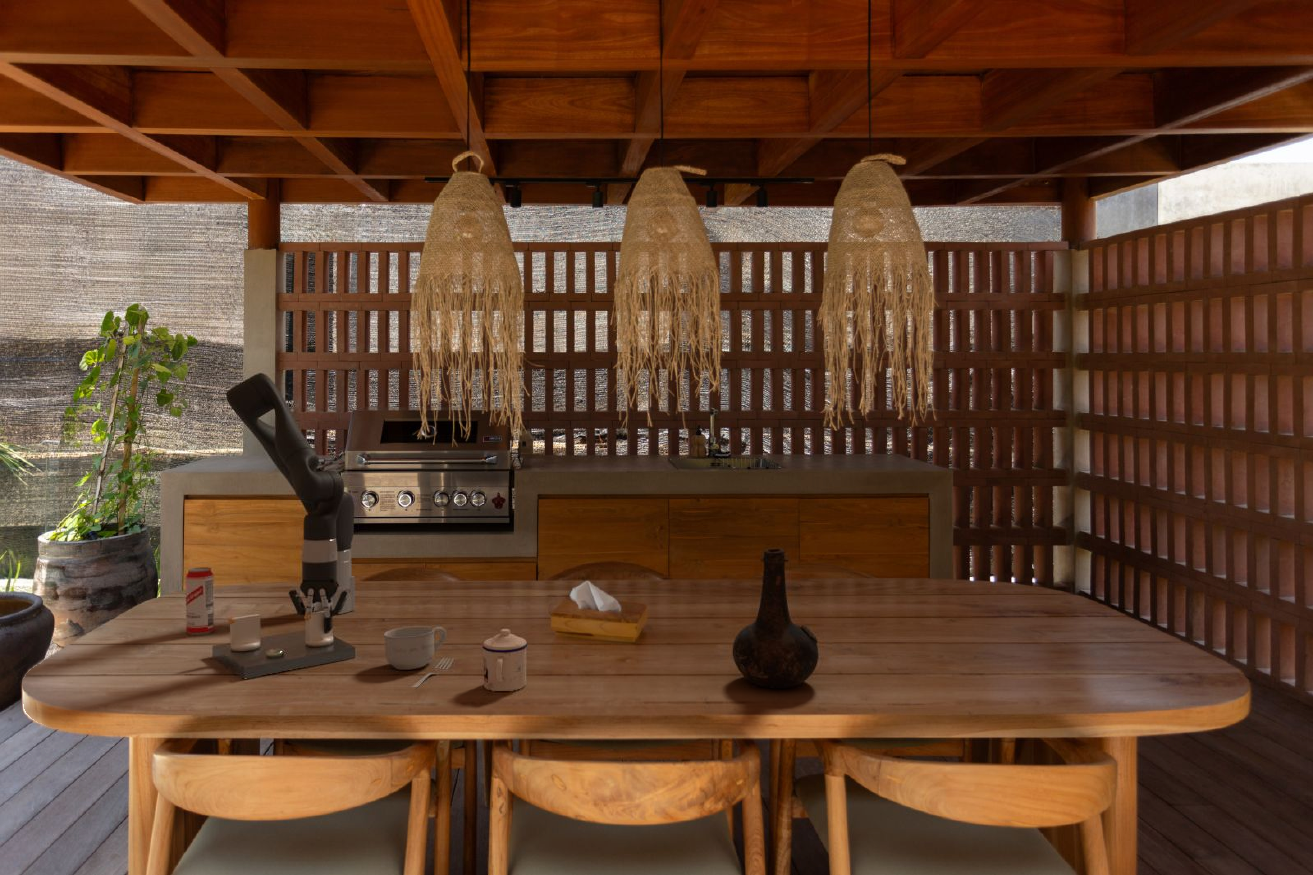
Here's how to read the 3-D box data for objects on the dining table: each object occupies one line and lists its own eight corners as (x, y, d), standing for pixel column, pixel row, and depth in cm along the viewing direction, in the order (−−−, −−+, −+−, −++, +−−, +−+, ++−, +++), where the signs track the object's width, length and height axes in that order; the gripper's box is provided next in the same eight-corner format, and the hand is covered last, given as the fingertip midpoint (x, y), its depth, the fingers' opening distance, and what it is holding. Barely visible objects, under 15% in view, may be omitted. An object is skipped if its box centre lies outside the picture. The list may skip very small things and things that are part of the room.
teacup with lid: (487, 678, 189) (487, 624, 188) (530, 679, 189) (530, 624, 188) (475, 697, 177) (474, 639, 176) (520, 698, 177) (520, 640, 176)
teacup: (389, 676, 190) (389, 639, 190) (379, 662, 199) (379, 627, 199) (454, 667, 196) (454, 631, 196) (442, 654, 206) (441, 620, 206)
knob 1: (254, 642, 205) (254, 610, 205) (263, 647, 201) (263, 615, 201) (224, 647, 201) (223, 615, 201) (232, 653, 196) (232, 620, 196)
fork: (389, 701, 176) (389, 692, 175) (442, 665, 199) (442, 657, 199) (404, 702, 175) (404, 693, 175) (455, 666, 199) (455, 658, 199)
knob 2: (323, 637, 210) (323, 607, 209) (338, 642, 206) (338, 610, 206) (297, 643, 204) (297, 612, 204) (312, 648, 201) (312, 616, 200)
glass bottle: (818, 698, 177) (820, 559, 176) (728, 693, 180) (730, 555, 179) (817, 671, 195) (819, 544, 194) (735, 667, 198) (736, 541, 197)
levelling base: (317, 638, 219) (317, 621, 219) (355, 657, 203) (355, 640, 203) (212, 656, 203) (212, 638, 203) (244, 679, 187) (244, 660, 187)
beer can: (202, 636, 220) (201, 572, 219) (180, 635, 221) (179, 571, 220) (220, 630, 226) (219, 567, 225) (198, 628, 227) (197, 566, 226)
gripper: (355, 555, 209) (355, 629, 209) (294, 555, 208) (294, 628, 209) (345, 561, 201) (345, 637, 202) (282, 560, 201) (282, 636, 201)
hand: (319, 632), depth 205 cm, fingers closed on knob 2, 3 cm apart
